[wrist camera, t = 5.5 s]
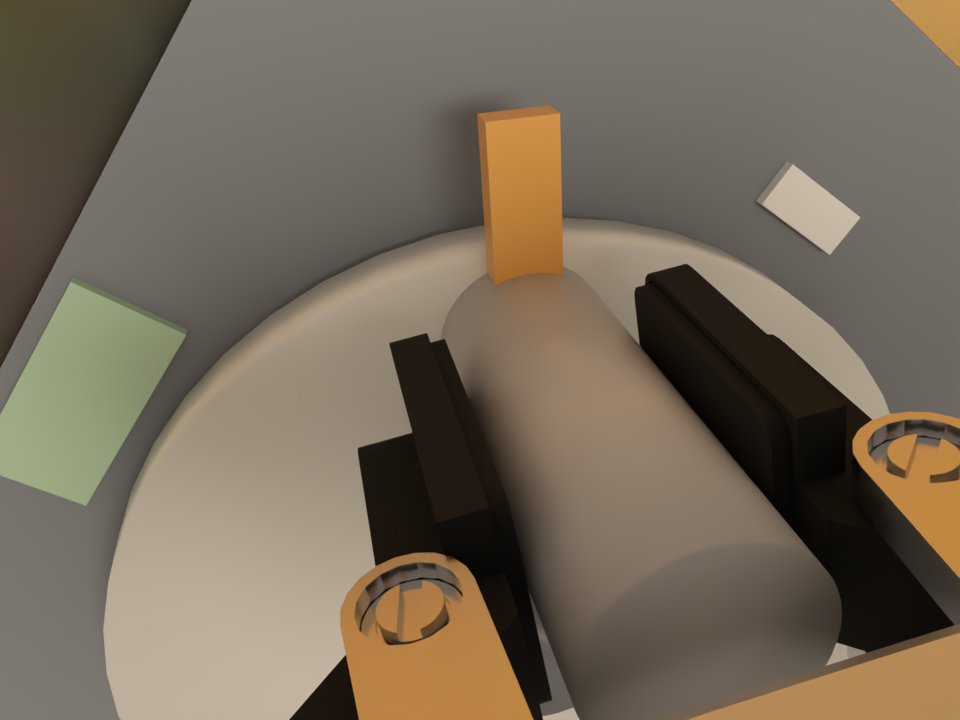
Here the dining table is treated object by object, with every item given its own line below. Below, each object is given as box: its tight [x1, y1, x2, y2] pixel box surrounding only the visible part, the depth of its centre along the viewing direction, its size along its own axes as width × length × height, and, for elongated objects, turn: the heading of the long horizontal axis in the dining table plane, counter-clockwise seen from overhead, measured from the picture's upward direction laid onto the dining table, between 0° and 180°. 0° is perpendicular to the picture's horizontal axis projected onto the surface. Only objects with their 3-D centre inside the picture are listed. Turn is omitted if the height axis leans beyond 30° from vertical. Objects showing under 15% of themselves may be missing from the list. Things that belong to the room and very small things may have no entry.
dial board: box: [0, 0, 960, 720], centre depth 18 cm, size 20×24×2 cm
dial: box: [103, 105, 890, 720], centre depth 14 cm, size 17×15×8 cm
